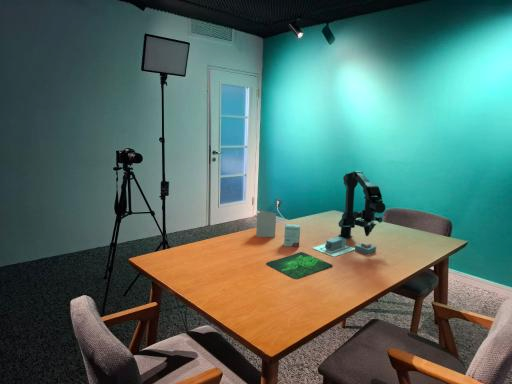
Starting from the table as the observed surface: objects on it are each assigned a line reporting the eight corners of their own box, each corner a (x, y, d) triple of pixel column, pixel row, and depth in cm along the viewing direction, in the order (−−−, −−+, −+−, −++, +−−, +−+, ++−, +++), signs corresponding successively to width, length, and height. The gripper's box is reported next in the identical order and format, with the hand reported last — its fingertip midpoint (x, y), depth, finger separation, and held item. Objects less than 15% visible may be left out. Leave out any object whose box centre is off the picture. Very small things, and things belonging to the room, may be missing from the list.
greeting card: (275, 236, 209) (276, 213, 206) (269, 240, 203) (270, 215, 200) (259, 233, 215) (260, 209, 212) (253, 236, 209) (254, 212, 206)
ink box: (298, 244, 198) (300, 224, 196) (299, 247, 193) (300, 227, 191) (283, 243, 199) (285, 223, 196) (283, 246, 194) (284, 226, 192)
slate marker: (339, 244, 198) (339, 236, 197) (345, 246, 195) (345, 238, 194) (323, 249, 189) (324, 241, 188) (329, 252, 186) (330, 243, 185)
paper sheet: (334, 241, 204) (334, 241, 204) (356, 249, 193) (356, 248, 193) (312, 248, 192) (312, 247, 192) (334, 257, 180) (334, 256, 180)
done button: (364, 246, 193) (365, 241, 193) (370, 248, 190) (371, 243, 190) (360, 248, 191) (361, 243, 190) (366, 250, 188) (367, 245, 187)
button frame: (363, 247, 196) (363, 242, 196) (375, 251, 190) (376, 246, 190) (354, 250, 191) (355, 245, 191) (367, 254, 185) (368, 249, 185)
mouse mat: (295, 281, 152) (295, 279, 152) (263, 264, 168) (263, 262, 168) (334, 266, 169) (334, 264, 169) (301, 253, 186) (301, 251, 185)
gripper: (366, 203, 198) (363, 229, 201) (347, 207, 186) (344, 234, 189) (384, 207, 190) (381, 234, 193) (365, 212, 178) (362, 240, 181)
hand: (366, 235), depth 189 cm, fingers closed
